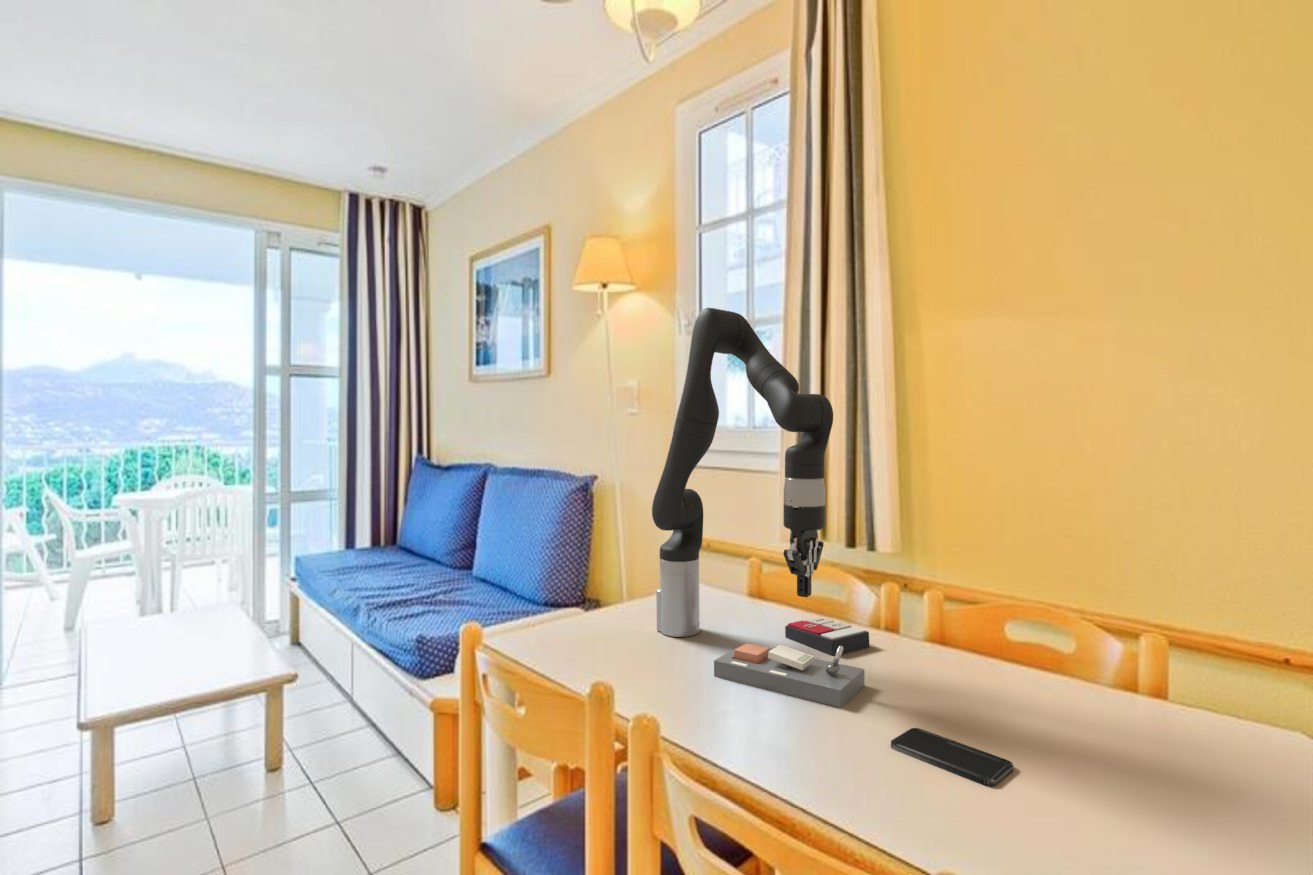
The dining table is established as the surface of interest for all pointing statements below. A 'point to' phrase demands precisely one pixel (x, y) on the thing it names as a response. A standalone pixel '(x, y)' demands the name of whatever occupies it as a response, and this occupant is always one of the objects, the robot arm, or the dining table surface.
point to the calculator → (827, 635)
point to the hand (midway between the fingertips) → (804, 595)
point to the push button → (751, 653)
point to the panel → (794, 678)
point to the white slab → (791, 657)
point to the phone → (953, 756)
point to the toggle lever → (835, 663)
